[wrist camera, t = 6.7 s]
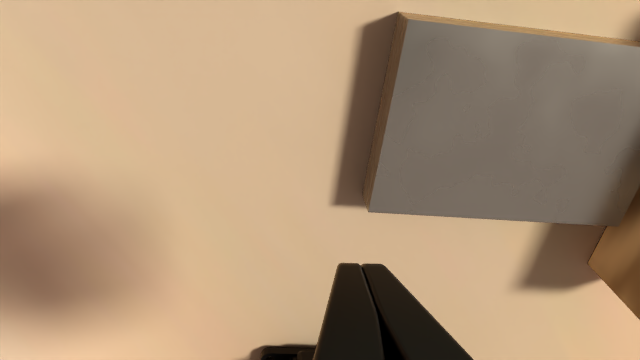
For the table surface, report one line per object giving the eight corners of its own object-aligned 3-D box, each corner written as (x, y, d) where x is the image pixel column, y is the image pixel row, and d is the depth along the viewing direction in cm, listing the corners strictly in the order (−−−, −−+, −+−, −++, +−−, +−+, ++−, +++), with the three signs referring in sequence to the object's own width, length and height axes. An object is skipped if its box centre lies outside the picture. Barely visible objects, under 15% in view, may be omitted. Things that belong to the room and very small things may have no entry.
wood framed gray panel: (592, 204, 24) (618, 226, 22) (360, 188, 22) (368, 212, 20) (668, 43, 20) (707, 55, 18) (395, 9, 18) (408, 19, 16)
